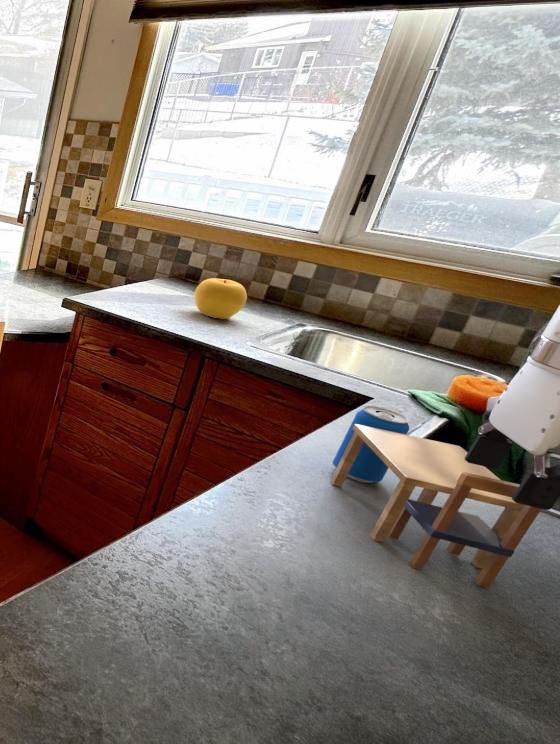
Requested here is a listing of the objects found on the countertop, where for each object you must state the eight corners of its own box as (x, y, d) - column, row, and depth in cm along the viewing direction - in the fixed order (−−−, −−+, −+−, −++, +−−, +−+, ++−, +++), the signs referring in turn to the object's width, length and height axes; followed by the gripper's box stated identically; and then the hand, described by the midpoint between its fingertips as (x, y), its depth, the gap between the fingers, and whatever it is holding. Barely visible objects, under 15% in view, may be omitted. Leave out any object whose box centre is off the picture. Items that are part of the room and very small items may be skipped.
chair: (455, 551, 87) (510, 462, 82) (490, 589, 80) (552, 494, 75) (384, 532, 90) (433, 445, 85) (411, 567, 83) (466, 475, 78)
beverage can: (379, 475, 106) (411, 415, 101) (380, 490, 101) (414, 428, 97) (331, 459, 110) (360, 400, 105) (329, 473, 105) (360, 412, 101)
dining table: (426, 504, 99) (460, 446, 95) (491, 572, 84) (534, 507, 80) (326, 479, 103) (354, 423, 99) (371, 540, 89) (406, 477, 85)
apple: (179, 310, 189) (191, 275, 185) (203, 306, 195) (215, 272, 190) (224, 325, 178) (238, 288, 174) (247, 321, 184) (261, 285, 180)
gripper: (696, 399, 62) (597, 534, 68) (571, 344, 77) (500, 459, 83) (593, 381, 65) (507, 512, 71) (492, 331, 79) (428, 443, 86)
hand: (503, 483), depth 77 cm, fingers open, 9 cm apart
